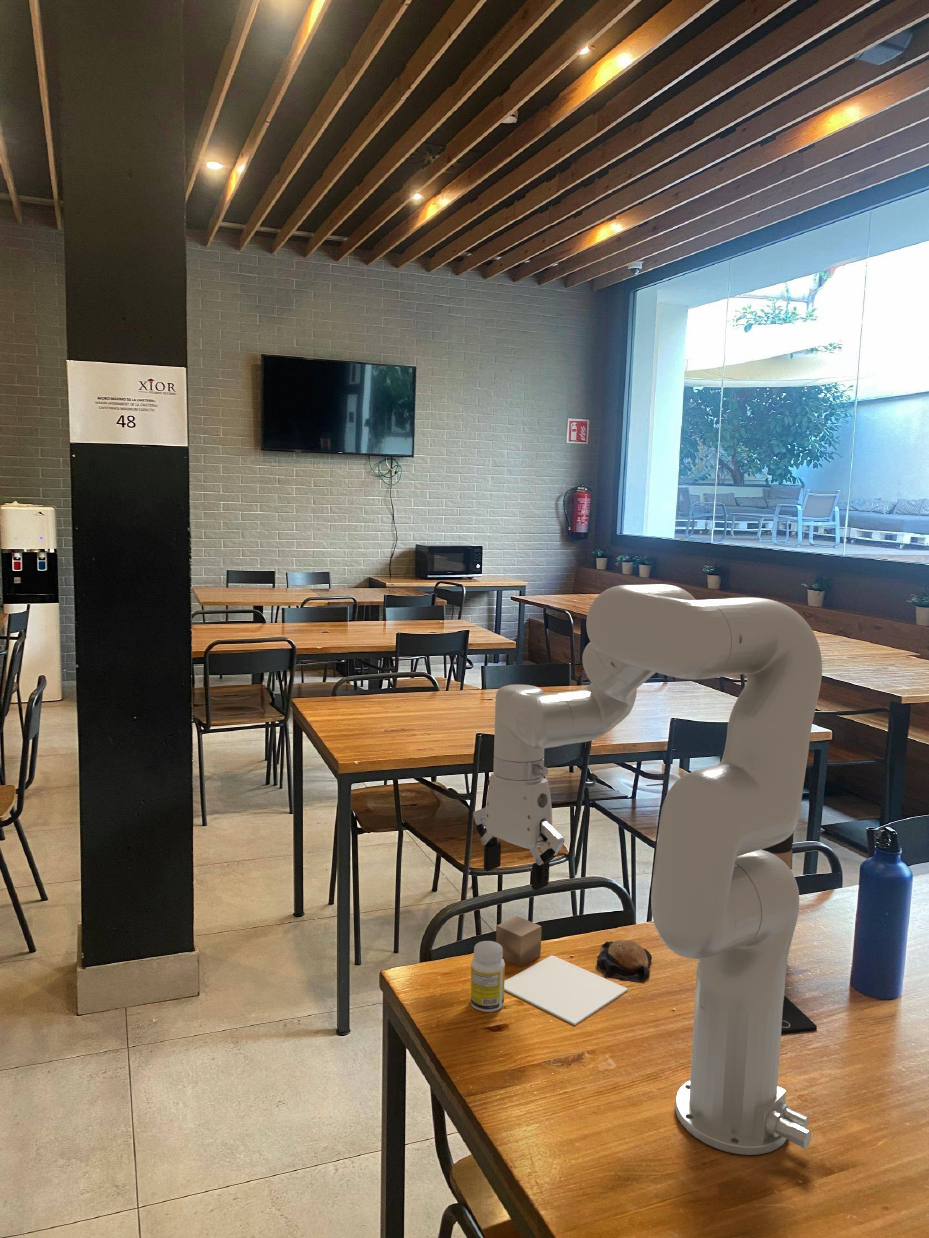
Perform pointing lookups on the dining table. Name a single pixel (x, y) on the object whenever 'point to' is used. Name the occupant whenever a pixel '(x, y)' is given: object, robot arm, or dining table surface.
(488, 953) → the supplement bottle
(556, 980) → the white square tile
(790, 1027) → the cell phone
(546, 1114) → the dining table surface
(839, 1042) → the dining table surface
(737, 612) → the robot arm
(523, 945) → the walnut block
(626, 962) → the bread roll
